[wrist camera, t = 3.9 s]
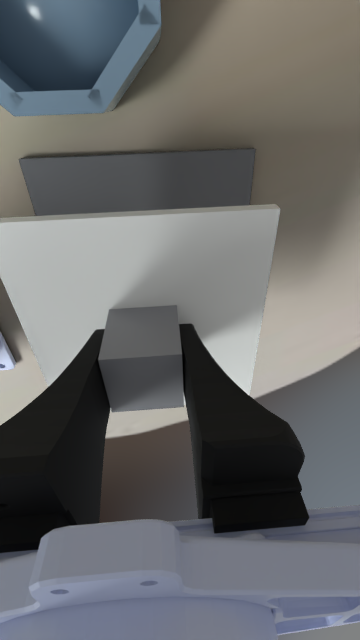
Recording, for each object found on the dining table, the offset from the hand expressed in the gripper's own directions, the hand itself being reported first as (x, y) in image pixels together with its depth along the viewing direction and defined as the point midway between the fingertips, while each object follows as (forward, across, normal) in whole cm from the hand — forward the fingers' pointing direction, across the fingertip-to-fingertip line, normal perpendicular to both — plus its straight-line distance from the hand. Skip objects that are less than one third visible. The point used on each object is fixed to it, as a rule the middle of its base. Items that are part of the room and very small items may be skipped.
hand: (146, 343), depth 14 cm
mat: (+9, 0, 0) cm, 9 cm away
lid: (+1, 0, 0) cm, 1 cm away
